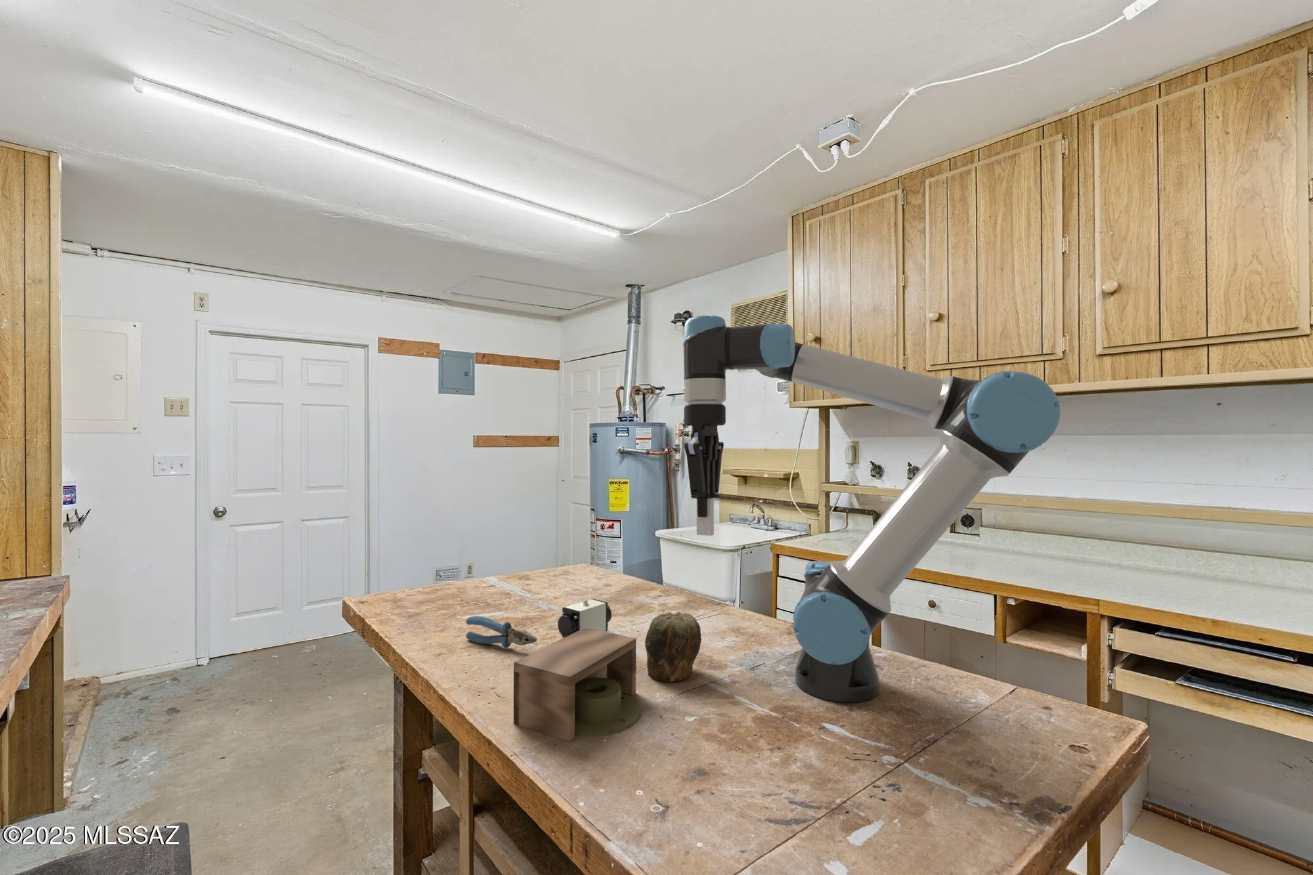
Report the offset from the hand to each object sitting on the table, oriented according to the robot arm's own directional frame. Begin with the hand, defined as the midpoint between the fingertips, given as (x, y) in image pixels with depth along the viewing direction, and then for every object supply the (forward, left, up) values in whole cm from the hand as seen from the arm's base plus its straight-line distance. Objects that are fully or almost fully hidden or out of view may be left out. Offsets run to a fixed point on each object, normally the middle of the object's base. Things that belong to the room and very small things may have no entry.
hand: (705, 534), depth 104 cm
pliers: (+49, +1, -29) cm, 57 cm away
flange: (+13, +15, -30) cm, 36 cm away
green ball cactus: (+9, -6, -29) cm, 31 cm away
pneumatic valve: (+30, -5, -29) cm, 42 cm away
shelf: (+16, +15, -29) cm, 37 cm away
